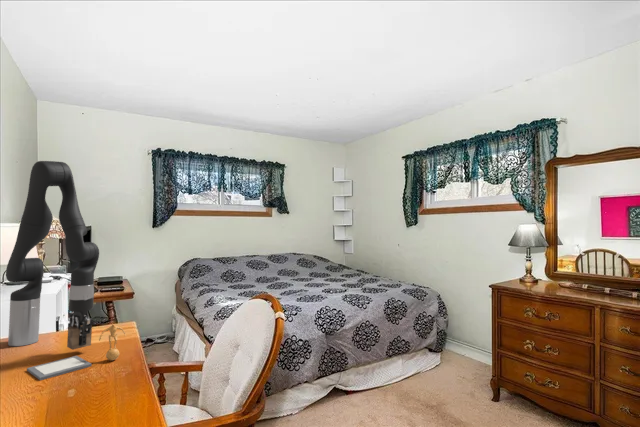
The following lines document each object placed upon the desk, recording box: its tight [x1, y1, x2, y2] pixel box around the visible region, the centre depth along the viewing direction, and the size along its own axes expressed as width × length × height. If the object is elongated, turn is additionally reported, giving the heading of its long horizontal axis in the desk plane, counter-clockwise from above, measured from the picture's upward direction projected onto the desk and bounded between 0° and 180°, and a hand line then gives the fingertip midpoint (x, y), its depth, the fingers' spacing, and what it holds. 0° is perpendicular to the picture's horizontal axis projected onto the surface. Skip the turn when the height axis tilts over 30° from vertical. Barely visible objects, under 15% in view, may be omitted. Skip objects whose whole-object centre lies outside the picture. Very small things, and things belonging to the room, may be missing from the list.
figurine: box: [98, 324, 127, 361], centre depth 125 cm, size 8×6×12 cm
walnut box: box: [66, 325, 93, 351], centre depth 130 cm, size 5×6×7 cm
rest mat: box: [26, 355, 93, 381], centre depth 116 cm, size 12×14×1 cm
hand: (79, 343), depth 130 cm, fingers closed on walnut box, 4 cm apart
